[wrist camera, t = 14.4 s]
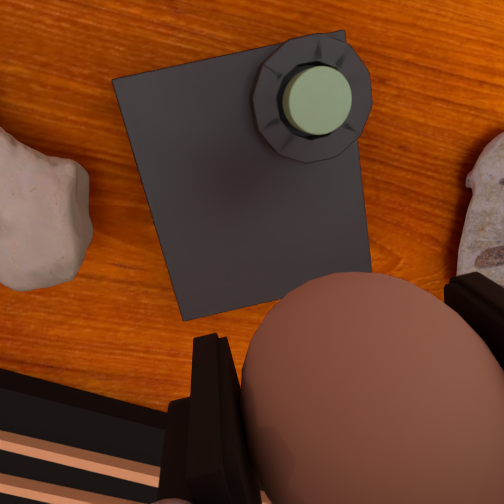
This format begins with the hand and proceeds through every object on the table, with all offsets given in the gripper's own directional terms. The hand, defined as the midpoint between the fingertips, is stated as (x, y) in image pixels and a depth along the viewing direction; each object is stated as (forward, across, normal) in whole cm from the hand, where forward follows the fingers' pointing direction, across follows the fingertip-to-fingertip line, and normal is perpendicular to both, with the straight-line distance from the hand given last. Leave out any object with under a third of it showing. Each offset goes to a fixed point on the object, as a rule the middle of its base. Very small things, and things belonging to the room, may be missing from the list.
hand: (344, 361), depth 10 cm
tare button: (+14, -3, -5) cm, 15 cm away
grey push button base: (+17, 0, -1) cm, 17 cm away
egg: (+2, 0, 0) cm, 2 cm away
